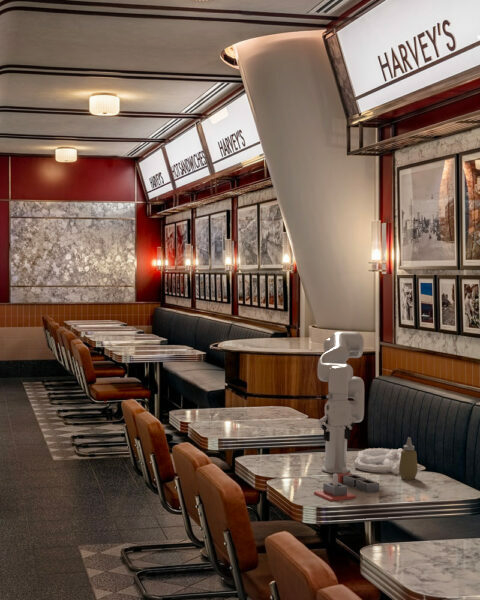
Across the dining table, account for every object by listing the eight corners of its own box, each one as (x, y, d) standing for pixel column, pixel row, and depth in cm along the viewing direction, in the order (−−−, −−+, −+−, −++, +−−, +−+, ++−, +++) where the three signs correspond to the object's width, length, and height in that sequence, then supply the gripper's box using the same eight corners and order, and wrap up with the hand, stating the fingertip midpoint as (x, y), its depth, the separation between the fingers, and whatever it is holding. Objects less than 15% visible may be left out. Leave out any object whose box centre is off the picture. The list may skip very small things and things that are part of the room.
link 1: (343, 483, 372) (343, 475, 372) (354, 482, 375) (355, 474, 375) (354, 488, 365) (354, 479, 365) (366, 486, 368) (366, 478, 368)
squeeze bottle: (416, 477, 388) (417, 436, 387) (418, 481, 380) (419, 439, 379) (397, 476, 389) (399, 435, 388) (399, 480, 381) (400, 438, 380)
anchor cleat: (334, 480, 377) (335, 467, 376) (348, 479, 380) (348, 465, 380) (340, 483, 373) (340, 468, 373) (353, 481, 376) (354, 467, 376)
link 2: (355, 488, 364) (355, 480, 364) (367, 487, 367) (367, 478, 367) (367, 493, 357) (367, 484, 357) (379, 491, 360) (379, 483, 360)
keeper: (313, 494, 353) (314, 471, 353) (338, 491, 359) (339, 469, 359) (330, 501, 343) (331, 478, 342) (356, 498, 348) (356, 475, 348)
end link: (323, 491, 353) (323, 483, 353) (335, 490, 356) (335, 481, 356) (334, 496, 346) (334, 487, 346) (347, 495, 349) (347, 486, 349)
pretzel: (405, 479, 390) (405, 465, 389) (351, 476, 396) (351, 462, 395) (410, 458, 416) (410, 445, 415) (360, 456, 422) (359, 443, 422)
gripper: (325, 399, 343) (323, 443, 343) (361, 397, 351) (360, 440, 351) (314, 396, 349) (313, 439, 350) (350, 394, 357) (349, 436, 358)
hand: (337, 440), depth 351 cm, fingers open, 9 cm apart
